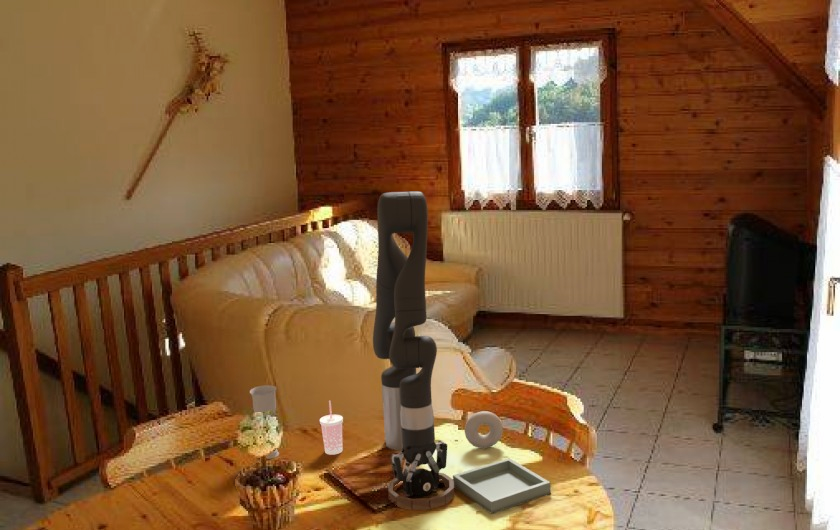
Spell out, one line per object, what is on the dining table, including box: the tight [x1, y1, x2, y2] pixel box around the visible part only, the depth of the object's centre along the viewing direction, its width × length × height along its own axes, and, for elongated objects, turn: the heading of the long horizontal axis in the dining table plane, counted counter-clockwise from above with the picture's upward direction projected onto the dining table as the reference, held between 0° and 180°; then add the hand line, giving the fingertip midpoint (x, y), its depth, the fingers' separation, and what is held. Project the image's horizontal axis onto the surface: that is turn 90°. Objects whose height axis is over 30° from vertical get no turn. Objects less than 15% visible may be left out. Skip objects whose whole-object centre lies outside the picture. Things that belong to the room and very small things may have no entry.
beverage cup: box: [319, 400, 344, 456], centre depth 213 cm, size 6×6×14 cm
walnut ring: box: [387, 472, 455, 511], centre depth 187 cm, size 15×15×2 cm
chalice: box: [249, 384, 280, 460], centre depth 212 cm, size 7×7×18 cm
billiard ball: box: [411, 468, 434, 497], centre depth 187 cm, size 6×6×6 cm
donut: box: [464, 410, 504, 449], centre depth 210 cm, size 10×4×10 cm, turn 96°
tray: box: [452, 457, 552, 515], centre depth 187 cm, size 16×16×3 cm
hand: (421, 490), depth 187 cm, fingers closed on billiard ball, 6 cm apart
